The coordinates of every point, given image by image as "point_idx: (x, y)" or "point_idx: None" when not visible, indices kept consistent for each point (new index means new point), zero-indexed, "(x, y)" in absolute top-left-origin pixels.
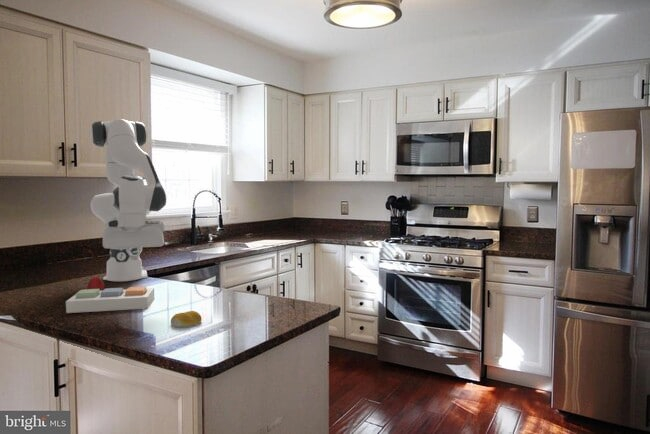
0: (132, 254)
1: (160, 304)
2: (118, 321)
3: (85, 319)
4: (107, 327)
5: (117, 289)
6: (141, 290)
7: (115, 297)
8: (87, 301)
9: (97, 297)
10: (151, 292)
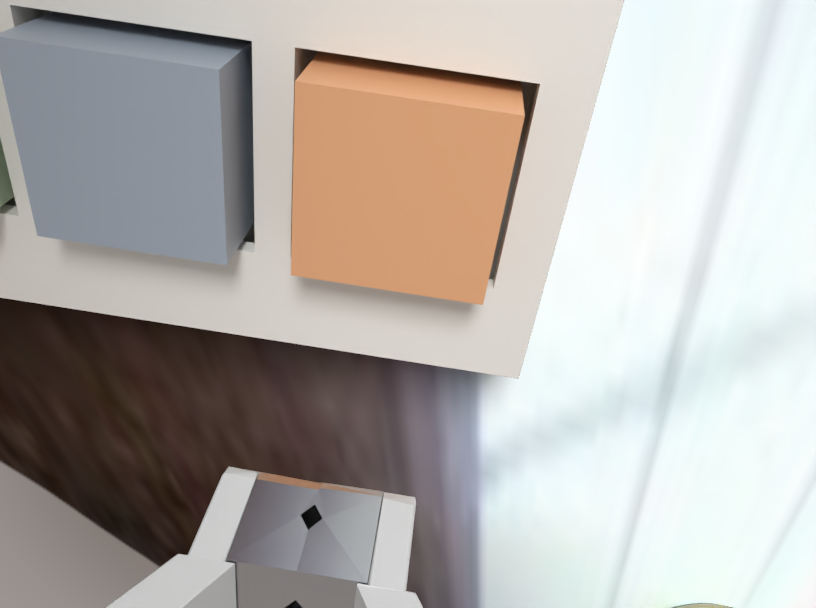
0: (229, 575)
1: (635, 228)
2: None
3: (125, 410)
4: None
5: (178, 162)
6: (463, 301)
7: (221, 289)
8: (2, 289)
9: None
10: (577, 158)
